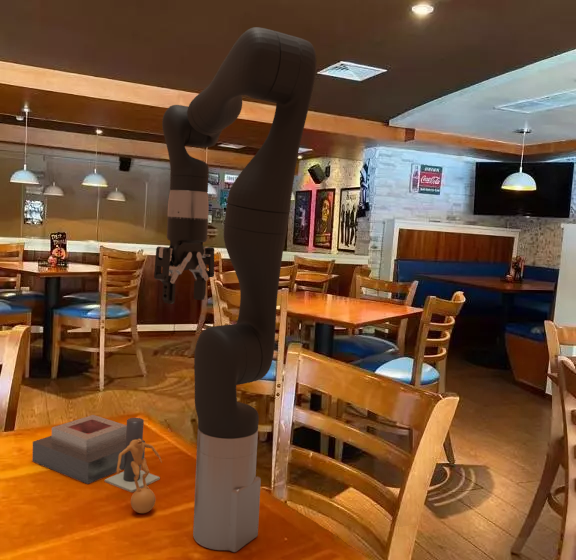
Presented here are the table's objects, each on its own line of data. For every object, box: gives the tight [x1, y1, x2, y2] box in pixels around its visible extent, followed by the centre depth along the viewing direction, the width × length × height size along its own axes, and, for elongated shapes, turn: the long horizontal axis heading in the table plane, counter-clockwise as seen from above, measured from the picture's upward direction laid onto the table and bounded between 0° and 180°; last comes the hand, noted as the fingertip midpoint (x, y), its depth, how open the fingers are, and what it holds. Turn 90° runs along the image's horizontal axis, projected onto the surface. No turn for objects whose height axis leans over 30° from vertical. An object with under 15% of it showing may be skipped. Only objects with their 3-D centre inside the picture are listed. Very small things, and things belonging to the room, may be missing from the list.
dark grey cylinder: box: [123, 417, 145, 482], centre depth 109 cm, size 3×3×11 cm
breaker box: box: [31, 414, 146, 485], centre depth 117 cm, size 16×14×7 cm
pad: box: [104, 469, 161, 493], centre depth 109 cm, size 7×7×1 cm
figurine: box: [116, 439, 163, 514], centre depth 98 cm, size 8×6×12 cm
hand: (184, 301), depth 112 cm, fingers open, 8 cm apart
